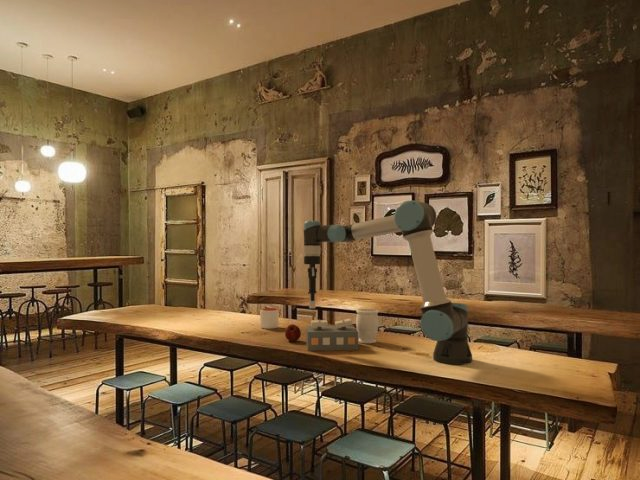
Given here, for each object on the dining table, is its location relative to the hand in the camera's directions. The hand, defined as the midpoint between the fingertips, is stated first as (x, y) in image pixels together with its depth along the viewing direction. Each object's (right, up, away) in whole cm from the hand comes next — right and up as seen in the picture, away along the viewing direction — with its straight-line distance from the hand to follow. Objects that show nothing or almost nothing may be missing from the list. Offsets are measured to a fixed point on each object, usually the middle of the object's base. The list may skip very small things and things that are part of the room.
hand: (312, 308), depth 212 cm
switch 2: (+14, -7, +1) cm, 16 cm away
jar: (+26, -18, +11) cm, 33 cm away
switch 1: (+3, -8, 0) cm, 9 cm away
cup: (-24, -18, +47) cm, 56 cm away
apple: (-10, -18, +12) cm, 24 cm away
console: (+8, -18, +1) cm, 19 cm away
